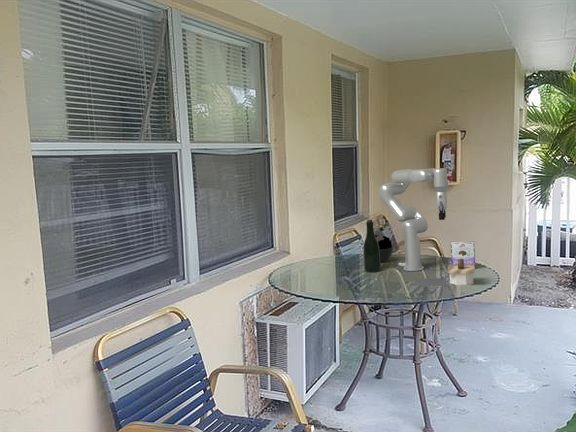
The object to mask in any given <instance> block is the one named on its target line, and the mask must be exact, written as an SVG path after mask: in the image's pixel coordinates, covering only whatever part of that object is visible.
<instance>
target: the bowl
mask: <svg viewBox="0 0 576 432" xmlns="http://www.w3.org/2000/svg"><path fill="white" fill-rule="evenodd" d="M449 283H450V284H452V285H455V286H468V285H471V286H473V285H474V273H449ZM472 284H473V285H472Z"/></svg>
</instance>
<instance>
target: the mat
mask: <svg viewBox="0 0 576 432" xmlns="http://www.w3.org/2000/svg"><path fill="white" fill-rule="evenodd" d="M446 282H447V278H444V277H443V278H441V277H440V278H439V277H438V278H435V277H432V278H428V277H425V278H424V277H423V278H420V277H419V278H418V277H417V278H416V277H415V280H414V281H413V283H412V286H418V287H420V286H421V287H422V286H423V287H424V286H425V287H426V286H427V287H428V286H432V287H445V286H446Z"/></svg>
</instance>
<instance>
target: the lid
mask: <svg viewBox="0 0 576 432" xmlns="http://www.w3.org/2000/svg"><path fill="white" fill-rule="evenodd" d="M475 270H476V265H475V266H464V259H458V266H452V265H448V266H447V270H446V274H450V273H473V274H475V273H476V272H475Z"/></svg>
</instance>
